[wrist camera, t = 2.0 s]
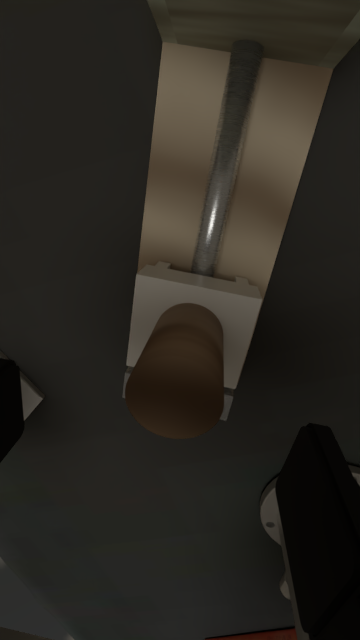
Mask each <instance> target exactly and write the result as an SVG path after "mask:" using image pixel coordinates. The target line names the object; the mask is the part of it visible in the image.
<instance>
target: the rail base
mask: <svg viewBox="0 0 360 640" xmlns="http://www.w3.org/2000/svg"><path fill="white" fill-rule="evenodd" d="M147 1H148V4H149V6H150V9H151V12H152V14H153V17H154V20H155V22H156V25H157V27H158V30H159V33H160V35H161V38H162V40H163V46H162V55H161V64H160V73H159V82H158V91H157V100H156V109H155V118H154V127H153V136H152V145H151V154H150V163H149V172H148V181H147V190H146V199H145V208H144V217H143V226H142V235H141V244H140V253H139V262H138V271H137V273H138V272H139V271H140V270H141V269H143V268H144V267H145V266H146V265H152V266H155V265H156V264H157V263H158V262H159V261H161V262H166V263H171V266H170V269H172V270H177V271H182V272H187V273H192V274H197V275H202V276H207V277H212V278H217V279H222V280H227V281H232V282H234V280H235V276H237V277H242V278H247V279H248V282H249V285H252V286H257V287H258V290H259V292H260V295H261V297H262V303H263V299H264V296H265V293H266V289H267V286H268V283H269V279H270V276H271V273H272V270H273V266H274V263H275V260H276V256H277V253H278V250H279V246H280V243H281V240H282V237H283V233H284V230H285V227H286V223H287V220H288V217H289V213H290V210H291V207H292V204H293V200H294V197H295V194H296V190H297V187H298V184H299V180H300V177H301V174H302V171H303V167H304V164H305V161H306V157H307V154H308V151H309V147H310V144H311V141H312V138H313V134H314V131H315V128H316V124H317V121H318V118H319V114H320V111H321V108H322V105H323V101H324V98H325V95H326V91H327V88H328V85H329V81H330V78H331V75H332V72H333V69H334V67H335V66H336V65H337V64H338V63H339V62H340V61H341V59H342V58H343V57H344V56H345V55H346V54H347V53H348V51H349V50H350V49H351V48H352V47H353V46H354V45H355V44H356V42H357V41H358V40H359V39H360V0H147ZM262 303H261V306H262ZM261 306H260V309H261ZM260 309H259V312H260ZM258 316H259V313H258ZM258 316H257V319H258ZM257 319H256V322H257ZM255 326H256V323H255ZM255 326H254V329H255ZM254 329H253V332H254ZM252 336H253V333H252ZM252 336H251V339H252ZM251 339H250V342H251ZM249 345H250V343H249ZM248 349H249V346H248ZM248 349H247V352H248ZM246 355H247V353H246ZM245 359H246V356H245ZM245 359H244V362H245ZM243 365H244V363H243ZM133 369H134V367H132V366H129V367H128V368H127V370H126V372H125V379H124V388H123V397H122V398H125V387H126V383H127V381H128V378H129V376H130V374H131V372H132V371H133ZM242 369H243V366H242ZM242 369H241V372H242ZM241 372H240V375H241ZM239 378H240V376H239ZM238 382H239V379H238ZM238 382H237V384H238ZM233 397H234V395H233V389H232V388H228V387H224V409H223V413H222V415H221V417H220V420H224V421H226V420H227V417H228V413H229V410H230V407H231V403H232V400H233Z"/></svg>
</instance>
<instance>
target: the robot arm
mask: <svg viewBox="0 0 360 640" xmlns="http://www.w3.org/2000/svg"><path fill="white" fill-rule="evenodd" d="M23 431H24V416H23V404H22V392H21V379H20V369H19V367H18V366H16V364H15V362H14V361H12V360H8V359H3V358H0V462H1V461H2V460H3V459H4V457H5V456H6V455H7V453H8V452H9V451H10V450H11V448H12V447H13V446H14V445H15V443H16V442H17V441H18V440H19V438H20V437H21V435H22V433H23ZM260 516H261V522H262V525H263V527H264V529H265V531H266V532H267V533H268V534H269V536H270V537H271V538H272V539H273V540H274V541H276V542H277V543H278V544H279V545H281V547H282V553H283V558H284V564H285V572H284V574H283V576H282V578H281V579H280V582H279V586H280V590H281V592H282V594H283V595H284V596H285V597H286V598H287V599H289V600H291V605H292V611H293V617H294V623H295V629H296V635H297V640H360V468H359V467H355V466H351V465H348V464H347V462H346V460H345V458H344V456H343V454H342V451H341V449H340V447H339V445H338V443H337V441H336V439H335V437H334V434H333V432H332V430H331V429H330V428H329V427H328V426H323V425H318V424H313V423H309V424H308V425H307V426H306V427H305V426H303V427H301V429H300V431H299V433H298V435H297V437H296V440H295V442H294V444H293V446H292V448H291V450H290V453H289V455H288V457H287V459H286V461H285V464H284V466H283V468H282V470H281V472H280V474H279V476H278V477H277V478H275V479H274V480H273V481H272V482H271V483H270V484H269V485H268V486H267V487H266V488H265V490H264V492H263V493H262V496H261V499H260ZM0 640H52V639H48V638H44V637H40V636H36V635H32V634H27V633H24V632H19V631H15V630H11V629H7V628H3V627H0Z"/></svg>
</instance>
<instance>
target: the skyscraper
mask: <svg viewBox="0 0 360 640" xmlns="http://www.w3.org/2000/svg"><path fill="white" fill-rule="evenodd" d="M0 358H3V359H8V358H7V356H6V355H5V354H4V353H3V352H2V351H1V350H0ZM8 360H9V359H8ZM20 379H21V392H22V404H23V416H24V420H25V419H26V418H27V417H28V416H29V415H30V413H31V412H32V411H33V410H34V409H35V408H36V406H37V405H38V404H39V403H40V402H41V401H42V400H43V398H44V397H45V395H44V394H43V393H42V392H41V391H40V390H39V389H38V388H37V387H36V386H35V385H34V384H33V383H32V382H31V381H30V380H29V379H28V378H27V377H26V376H25V375H24V374H23V373H22V372H21V371H20Z"/></svg>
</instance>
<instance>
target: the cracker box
mask: <svg viewBox="0 0 360 640" xmlns="http://www.w3.org/2000/svg"><path fill="white" fill-rule="evenodd" d="M205 640H297V635H296V629H295V628H293V629H285V630H277V631H269V632H261V633H252V634H244V635H235V636H227V637H218V638H210V639H205Z"/></svg>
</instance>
